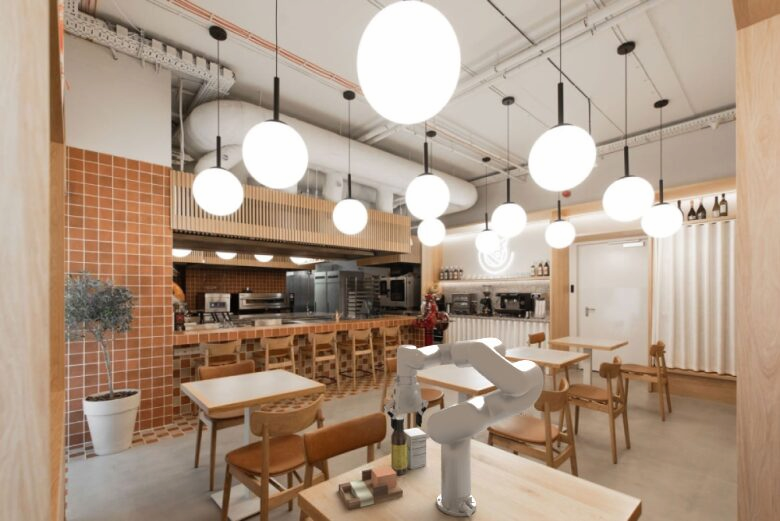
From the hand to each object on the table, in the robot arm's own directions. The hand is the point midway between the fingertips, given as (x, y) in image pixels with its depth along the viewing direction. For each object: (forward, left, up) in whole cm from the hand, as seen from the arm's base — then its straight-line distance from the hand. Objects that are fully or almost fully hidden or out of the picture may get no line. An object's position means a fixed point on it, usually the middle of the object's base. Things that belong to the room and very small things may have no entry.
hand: (406, 427), depth 133 cm
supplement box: (+12, -9, -20) cm, 25 cm away
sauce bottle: (+9, -1, -20) cm, 22 cm away
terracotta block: (-1, +9, -18) cm, 20 cm away
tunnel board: (-1, +14, -20) cm, 24 cm away
